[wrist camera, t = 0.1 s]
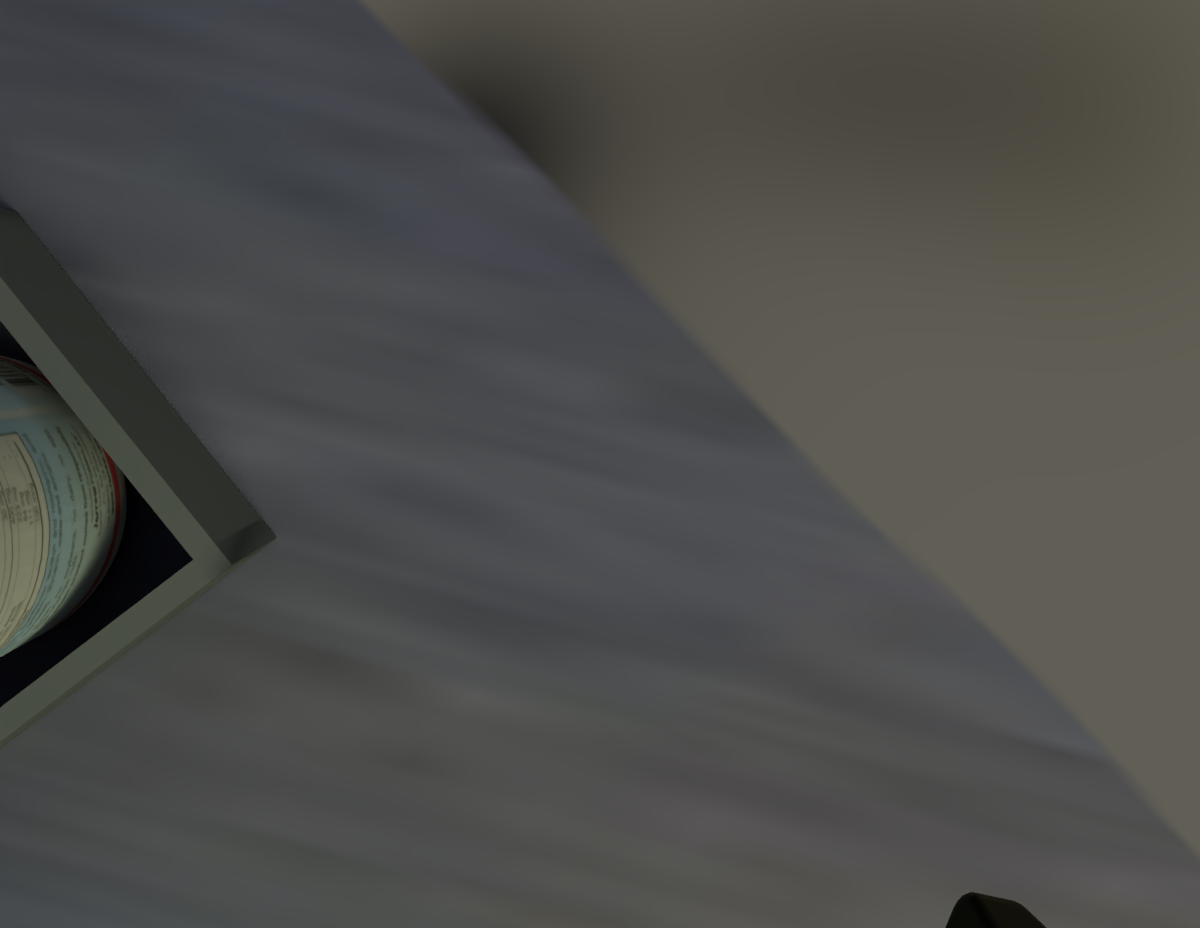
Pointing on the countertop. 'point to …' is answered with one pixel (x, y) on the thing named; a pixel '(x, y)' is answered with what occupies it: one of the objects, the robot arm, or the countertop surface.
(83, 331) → the tray
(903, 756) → the countertop surface
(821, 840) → the countertop surface
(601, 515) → the countertop surface
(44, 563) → the pill bottle
